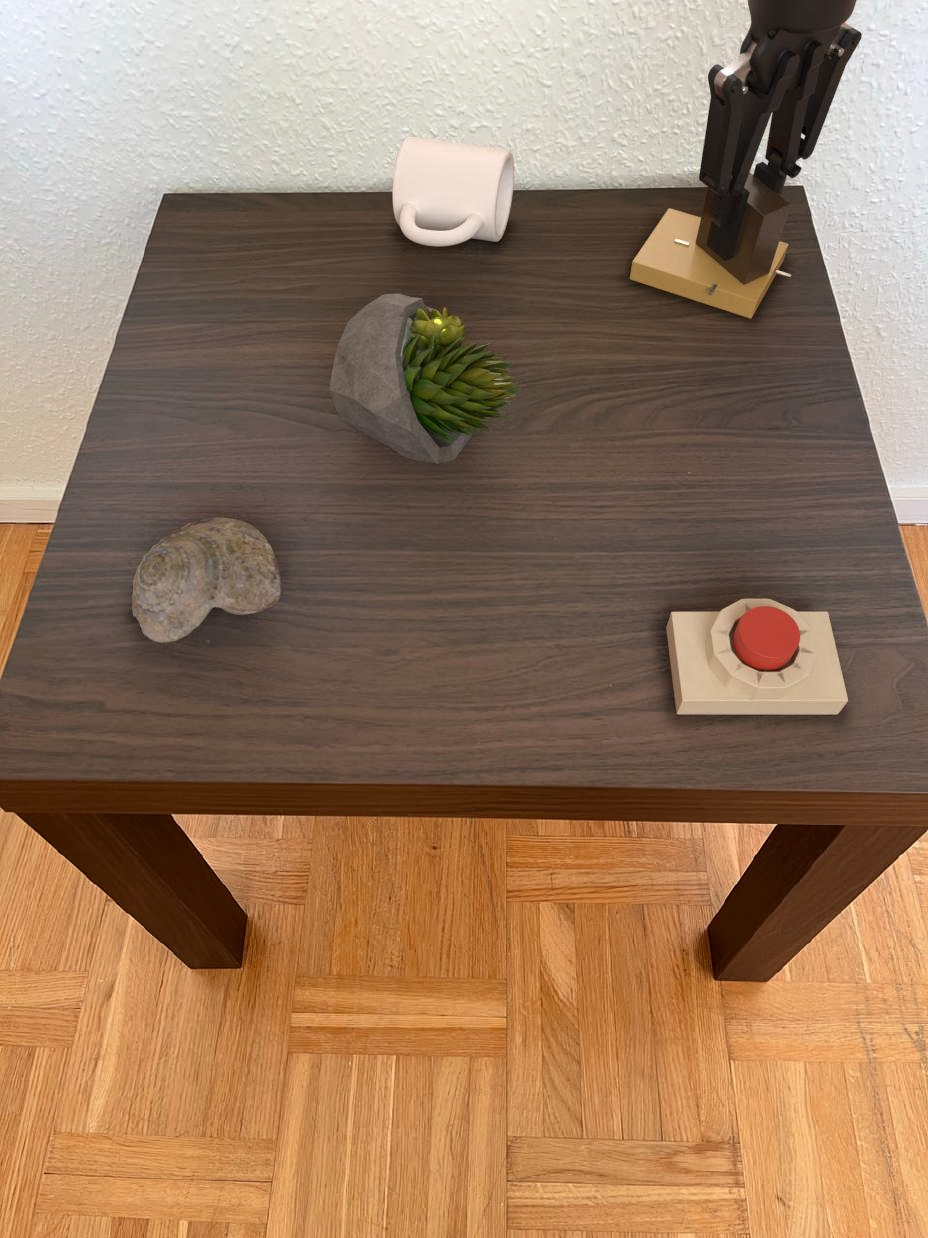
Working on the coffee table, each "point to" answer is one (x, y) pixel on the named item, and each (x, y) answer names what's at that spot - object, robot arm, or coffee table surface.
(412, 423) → the potted plant
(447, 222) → the mug
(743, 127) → the robot arm
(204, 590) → the fossilized seashell
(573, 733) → the coffee table surface
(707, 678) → the beige button housing
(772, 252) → the lock turn
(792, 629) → the bell button
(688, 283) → the plate
